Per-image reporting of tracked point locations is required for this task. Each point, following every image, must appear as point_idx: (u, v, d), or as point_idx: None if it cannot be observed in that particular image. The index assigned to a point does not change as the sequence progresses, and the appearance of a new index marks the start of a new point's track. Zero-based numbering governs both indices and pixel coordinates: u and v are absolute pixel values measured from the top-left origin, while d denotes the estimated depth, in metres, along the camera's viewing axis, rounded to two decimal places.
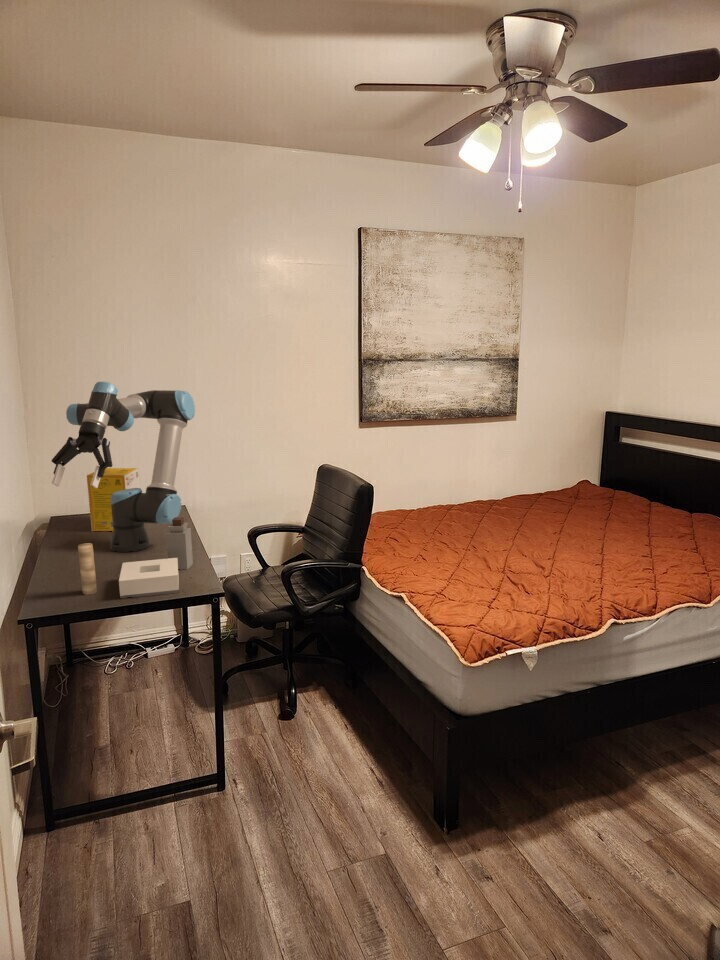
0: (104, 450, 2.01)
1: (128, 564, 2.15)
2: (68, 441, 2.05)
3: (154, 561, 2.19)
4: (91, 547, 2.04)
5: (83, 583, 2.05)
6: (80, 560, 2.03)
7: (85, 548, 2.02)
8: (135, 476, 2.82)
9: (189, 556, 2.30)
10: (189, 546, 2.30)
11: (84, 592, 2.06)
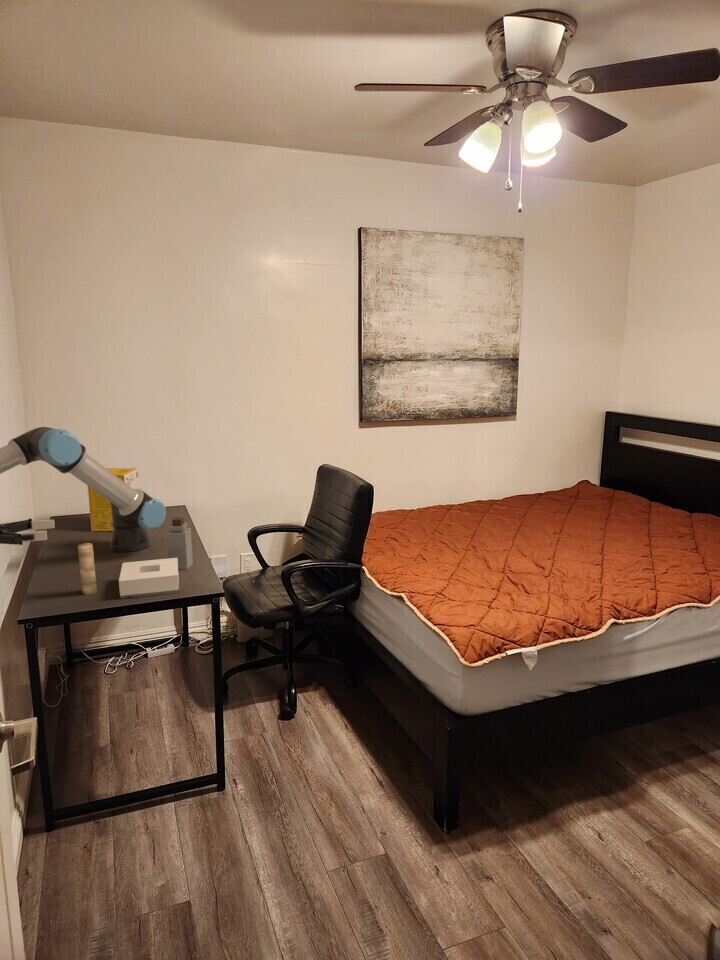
0: None
1: (128, 564, 2.15)
2: None
3: (154, 561, 2.19)
4: (91, 547, 2.04)
5: (83, 583, 2.05)
6: (80, 560, 2.03)
7: (85, 548, 2.02)
8: (135, 476, 2.82)
9: (189, 556, 2.30)
10: (189, 546, 2.30)
11: (84, 592, 2.06)
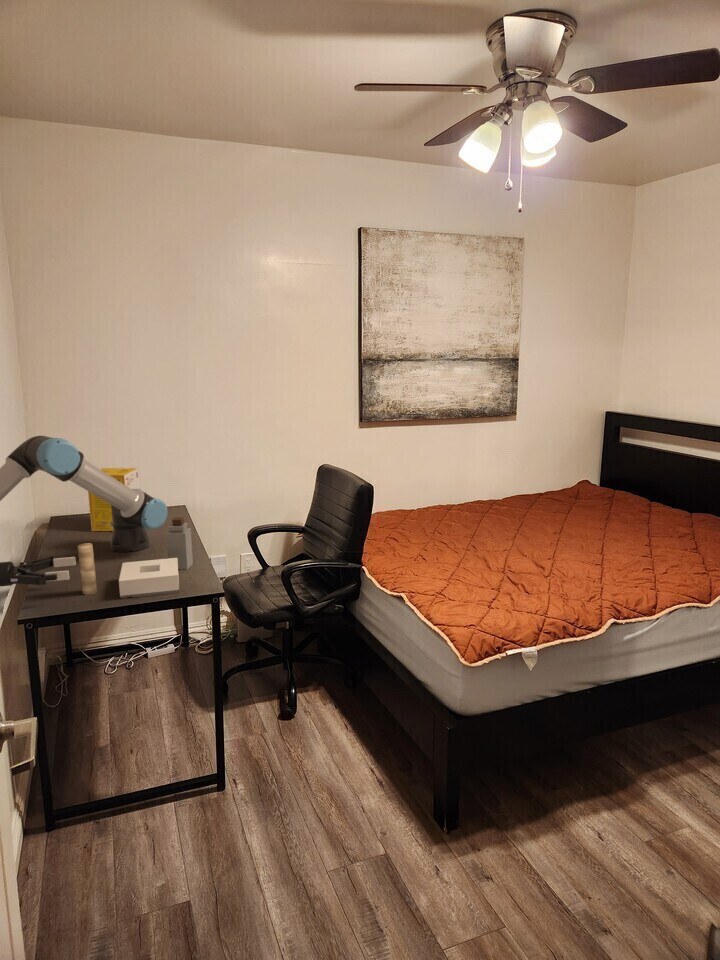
0: None
1: (128, 564, 2.15)
2: None
3: (154, 561, 2.19)
4: (91, 547, 2.04)
5: (83, 583, 2.05)
6: (80, 560, 2.03)
7: (85, 548, 2.02)
8: (135, 476, 2.82)
9: (189, 556, 2.30)
10: (189, 546, 2.30)
11: (84, 592, 2.06)
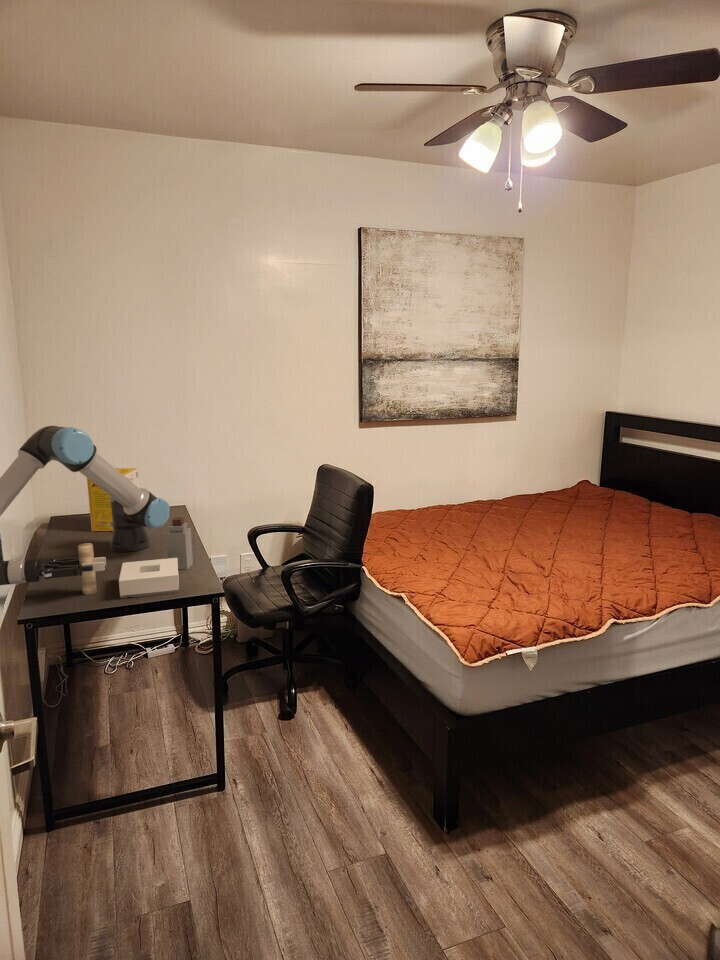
0: None
1: (128, 564, 2.15)
2: None
3: (154, 561, 2.19)
4: (91, 547, 2.04)
5: (83, 583, 2.05)
6: (80, 560, 2.03)
7: (85, 548, 2.02)
8: (135, 476, 2.82)
9: (189, 556, 2.30)
10: (189, 546, 2.30)
11: (84, 592, 2.05)
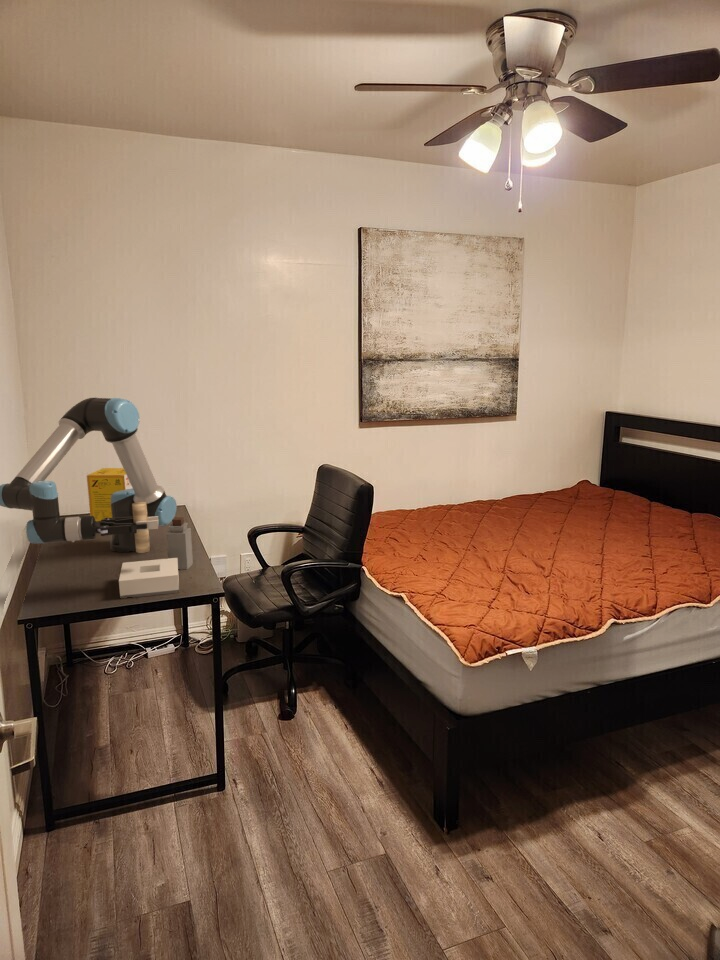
0: None
1: (128, 564, 2.15)
2: None
3: (154, 561, 2.19)
4: (145, 505, 2.06)
5: (137, 541, 2.07)
6: (134, 518, 2.05)
7: (140, 506, 2.04)
8: None
9: (189, 556, 2.30)
10: (189, 546, 2.30)
11: (138, 550, 2.07)
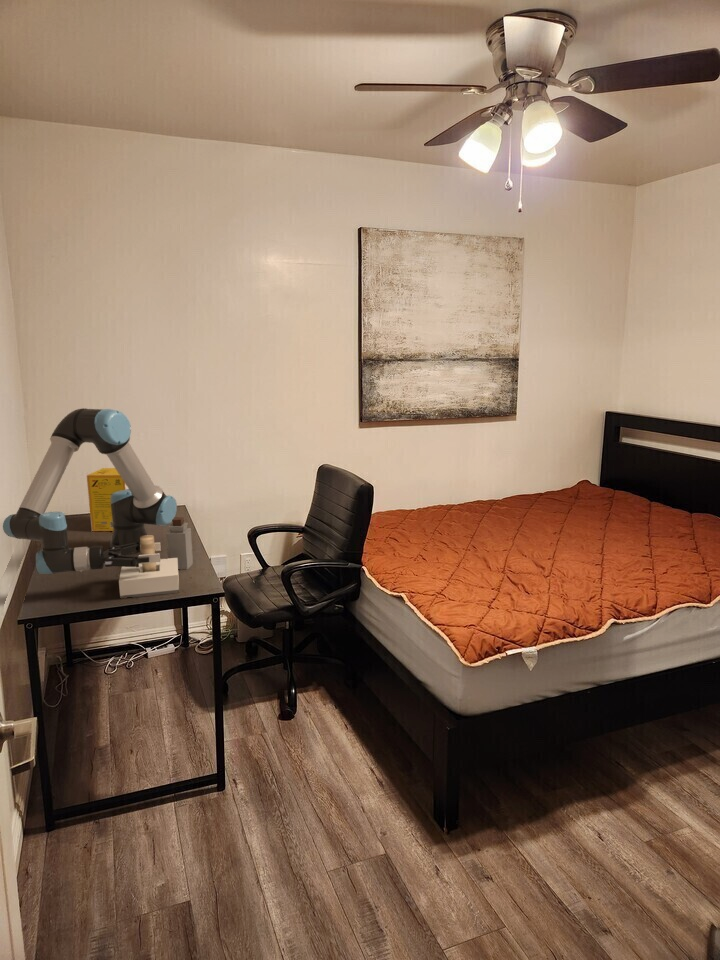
0: None
1: None
2: None
3: None
4: (153, 539, 2.09)
5: None
6: (142, 552, 2.08)
7: (147, 540, 2.07)
8: None
9: (189, 556, 2.30)
10: (189, 546, 2.30)
11: None
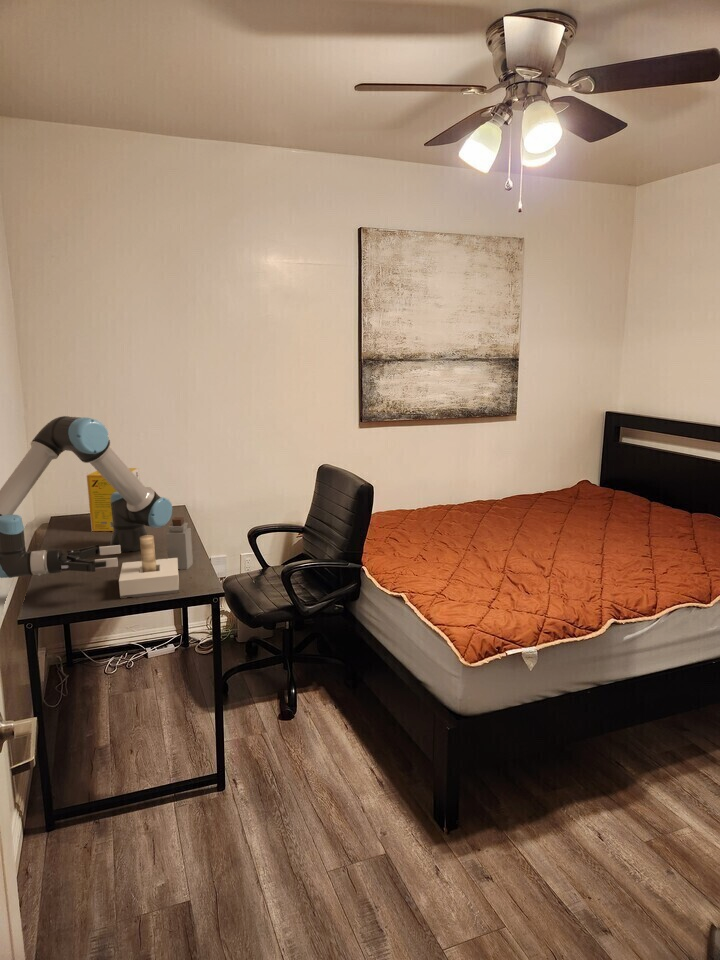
0: None
1: (128, 564, 2.15)
2: None
3: None
4: (152, 539, 2.09)
5: None
6: (142, 552, 2.08)
7: (147, 540, 2.07)
8: None
9: (189, 556, 2.30)
10: (189, 546, 2.30)
11: None
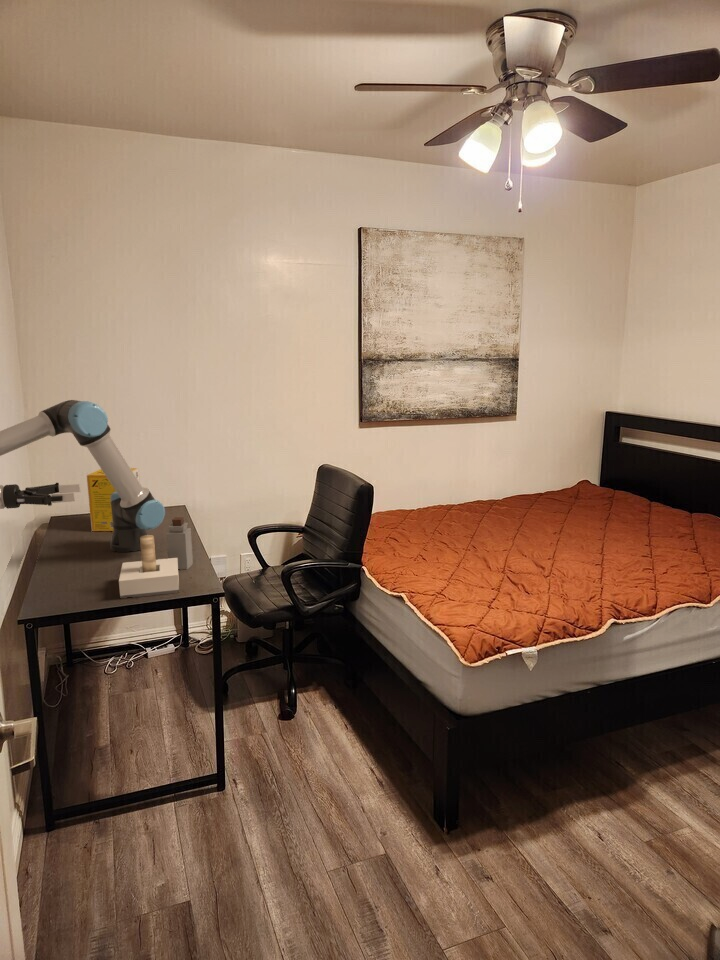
0: None
1: (128, 564, 2.15)
2: None
3: None
4: (153, 539, 2.09)
5: None
6: (142, 551, 2.08)
7: (147, 540, 2.07)
8: (135, 476, 2.82)
9: (189, 556, 2.30)
10: (189, 546, 2.30)
11: None
